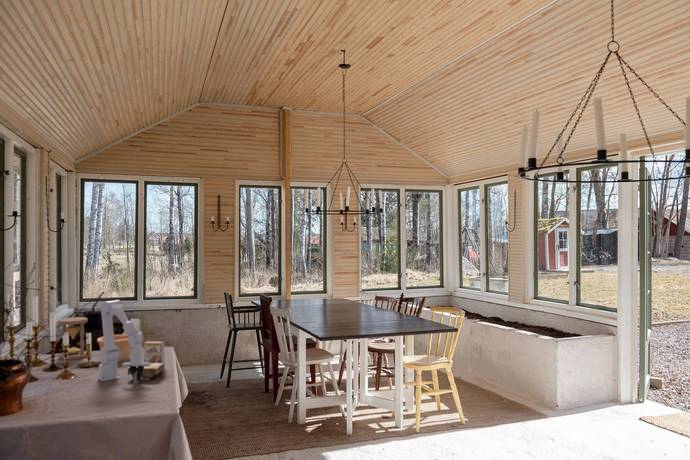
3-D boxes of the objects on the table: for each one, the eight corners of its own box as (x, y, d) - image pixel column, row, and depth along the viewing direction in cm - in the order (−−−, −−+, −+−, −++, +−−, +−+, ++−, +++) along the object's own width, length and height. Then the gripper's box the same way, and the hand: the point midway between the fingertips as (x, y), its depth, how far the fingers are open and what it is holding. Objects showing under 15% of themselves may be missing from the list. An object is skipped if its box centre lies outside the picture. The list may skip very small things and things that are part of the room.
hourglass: (52, 358, 363) (51, 320, 363) (74, 353, 379) (74, 316, 379) (72, 361, 356) (71, 322, 356) (94, 355, 372) (93, 317, 372)
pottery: (97, 358, 364) (96, 336, 363) (133, 354, 373) (132, 333, 373) (97, 365, 344) (97, 342, 344) (135, 361, 353) (135, 339, 353)
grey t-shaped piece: (128, 384, 302) (127, 373, 302) (139, 376, 318) (139, 366, 318) (142, 384, 302) (142, 373, 302) (153, 376, 317) (153, 366, 317)
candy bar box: (143, 370, 331) (143, 342, 331) (147, 368, 336) (146, 341, 336) (161, 370, 330) (161, 343, 330) (165, 368, 335) (164, 341, 335)
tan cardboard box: (127, 380, 309) (127, 368, 309) (136, 375, 321) (136, 362, 321) (156, 380, 308) (156, 368, 308) (164, 375, 320) (164, 362, 320)
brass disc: (142, 380, 310) (142, 379, 310) (139, 379, 314) (139, 377, 314) (151, 379, 313) (151, 377, 313) (148, 377, 317) (148, 375, 317)
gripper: (120, 356, 300) (120, 381, 300) (146, 356, 300) (146, 381, 300) (125, 353, 307) (126, 378, 307) (151, 353, 307) (151, 378, 307)
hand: (136, 379), depth 304 cm, fingers closed on grey t-shaped piece
